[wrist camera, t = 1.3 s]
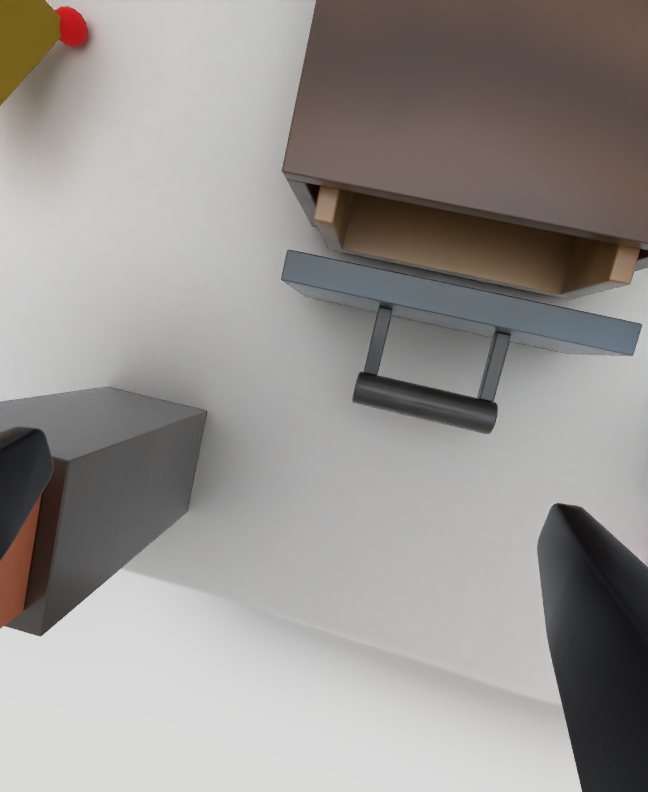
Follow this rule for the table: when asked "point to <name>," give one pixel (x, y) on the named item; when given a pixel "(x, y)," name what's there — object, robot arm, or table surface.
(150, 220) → the table surface
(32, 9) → the molecule model
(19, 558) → the block
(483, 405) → the drawer
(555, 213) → the cabinet
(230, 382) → the table surface
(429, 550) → the table surface
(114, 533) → the pedestal
